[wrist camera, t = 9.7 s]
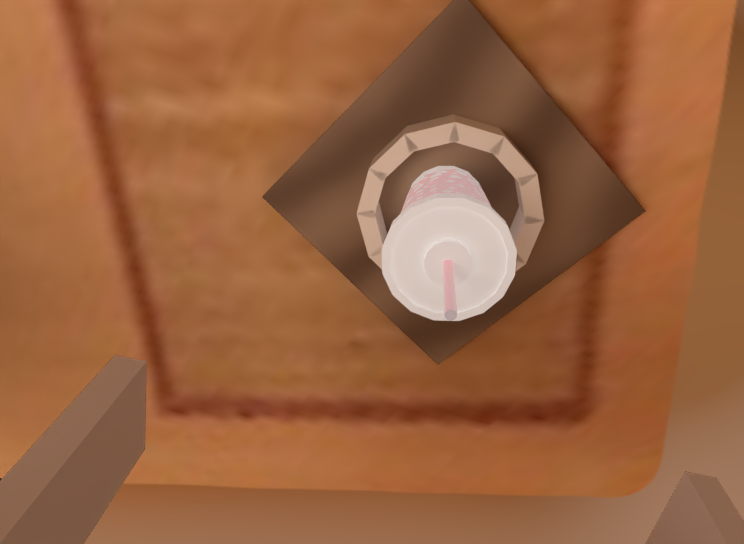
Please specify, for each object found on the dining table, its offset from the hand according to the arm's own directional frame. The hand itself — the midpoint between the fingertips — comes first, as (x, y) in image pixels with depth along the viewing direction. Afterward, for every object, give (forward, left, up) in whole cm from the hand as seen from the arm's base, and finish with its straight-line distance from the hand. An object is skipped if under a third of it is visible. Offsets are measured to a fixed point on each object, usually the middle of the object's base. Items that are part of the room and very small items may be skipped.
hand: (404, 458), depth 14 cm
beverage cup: (+1, +1, -22) cm, 22 cm away
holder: (+1, +1, -23) cm, 24 cm away
